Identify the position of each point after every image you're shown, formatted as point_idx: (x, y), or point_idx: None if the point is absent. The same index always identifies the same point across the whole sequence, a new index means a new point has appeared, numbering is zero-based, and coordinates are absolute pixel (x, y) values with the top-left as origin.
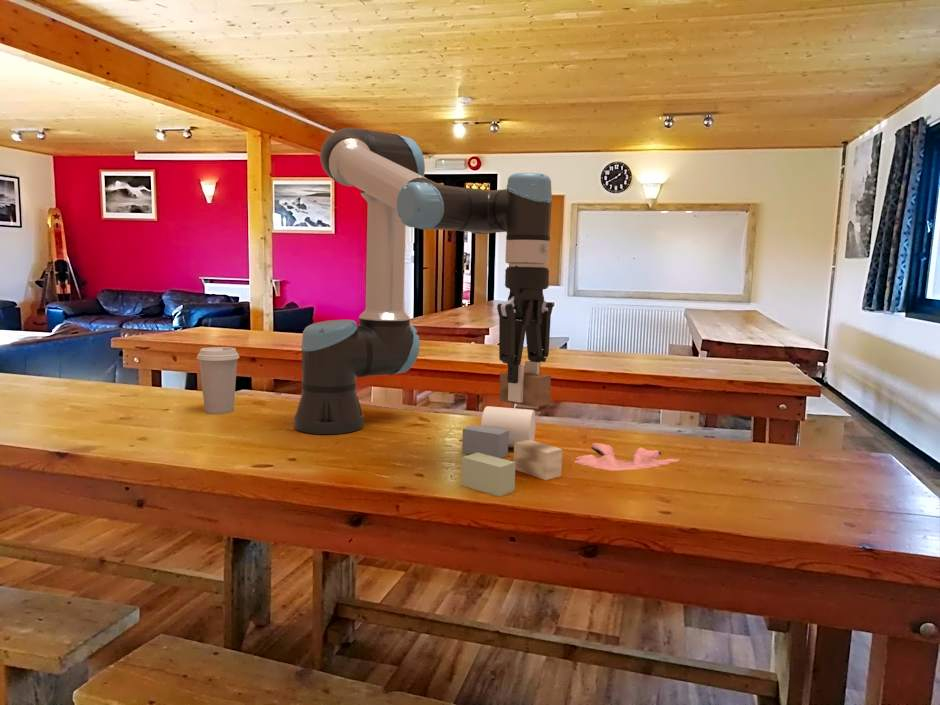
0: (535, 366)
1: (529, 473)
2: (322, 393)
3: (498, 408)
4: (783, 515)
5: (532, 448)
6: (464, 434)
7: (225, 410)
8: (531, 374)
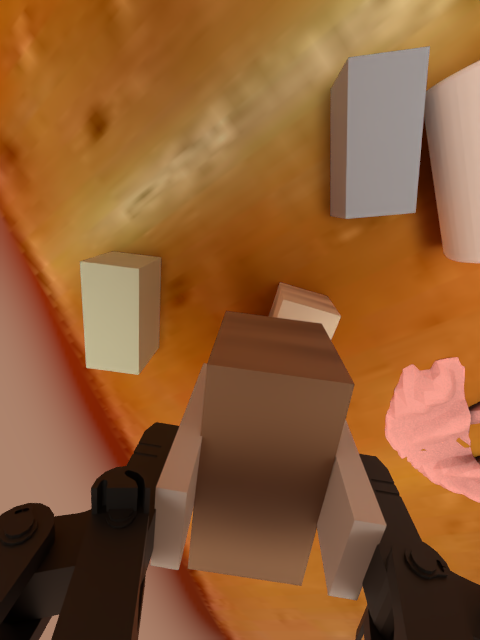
0: (325, 559)
1: None
2: None
3: None
4: (305, 630)
5: None
6: (342, 75)
7: None
8: (279, 512)
